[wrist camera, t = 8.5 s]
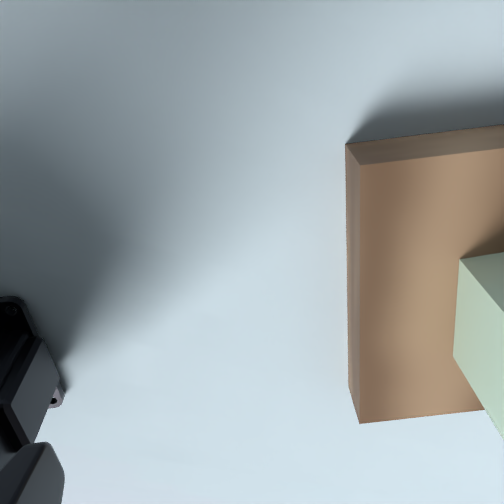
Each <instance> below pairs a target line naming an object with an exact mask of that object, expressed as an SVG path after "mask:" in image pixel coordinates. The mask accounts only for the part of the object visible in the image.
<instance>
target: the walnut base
mask: <svg viewBox="0 0 504 504" xmlns="http://www.w3.org/2000/svg"><path fill="white" fill-rule="evenodd" d="M345 167H346V238H347V310H348V382H349V390H350V393H351V397H352V400H353V404H354V407H355V410H356V414H357V417H358V420H359V424H362V423H371V422H380V421H389V420H398V419H407V418H416V417H424V416H433V415H442V414H451V413H460V412H469V411H478V410H485V409H484V407H483V405H482V404H481V402H480V400H479V399H478V397H477V395H476V394H475V392H474V390H473V389H472V387H471V385H470V384H469V382H468V380H467V379H466V377H465V376H464V374H463V372H462V371H461V369H460V367H459V366H458V364H457V362H456V361H455V359H454V357H453V346H454V331H455V316H456V302H457V287H458V272H459V259H464V258H470V257H477V256H483V255H489V254H495V253H501V252H504V124H503V125H495V126H487V127H479V128H471V129H462V130H454V131H446V132H438V133H430V134H422V135H414V136H406V137H398V138H390V139H382V140H374V141H366V142H357V143H349V144H345Z"/></svg>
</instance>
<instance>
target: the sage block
mask: <svg viewBox="0 0 504 504" xmlns="http://www.w3.org/2000/svg"><path fill="white" fill-rule="evenodd" d="M453 357H454V359H455V361H456V362H457V364H458V366H459V367H460V369H461V371H462V372H463V374H464V376H465V377H466V379H467V380H468V382H469V384H470V385H471V387H472V389H473V390H474V392H475V394H476V395H477V397H478V399H479V400H480V402H481V404H482V405H483V407H484V409H485V410H486V412H487V414H488V415H489V417H490V419H491V420H492V422H493V423H494V425H495V427H496V428H497V430H498V432H499V433H500V435H501V437H502V438H503V440H504V252H501V253H495V254H489V255H483V256H477V257H470V258H464V259H459V272H458V287H457V302H456V316H455V331H454V346H453Z"/></svg>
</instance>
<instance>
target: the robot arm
mask: <svg viewBox="0 0 504 504" xmlns="http://www.w3.org/2000/svg"><path fill="white" fill-rule="evenodd" d="M9 306H12V307H14V308H15V309H16V310H13V309H11V308H10V307H9ZM59 380H60V376H59V374H58V371H57V369H56V367H55V364H54V362H53V360H52V358H51V355H50V353H49V351H48V348H47V346H46V344H45V341H44V340H43V339H42V338H41V337H40V336H39V334H38V331H37V329H36V327H35V325H34V322H33V320H32V318H31V315H30V313H29V311H28V308H27V306H26V304H25V302H24V301H23V300H22V299H20V298H18V297H15V296H7V297H0V504H61V502H62V495H63V489H64V481H65V477H64V471H63V468H62V466H61V464H60V462H59V460H58V458H57V456H56V454H55V451H54V449H53V447H52V446H51V444H49V443H48V442H40V443H34V441H35V439H36V437H37V434H38V432H39V429H40V427H41V424H42V422H43V419H44V417H45V414H46V412H47V409H48V408H56V407H59V406H60V405H61V404H62V402H63V399H64V397H65V395H64V391H63V389H62V387H61V384H60V382H59ZM52 397H54V398H52Z"/></svg>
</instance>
